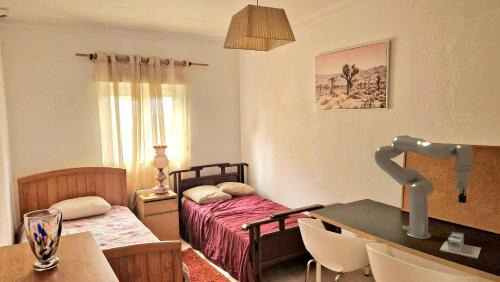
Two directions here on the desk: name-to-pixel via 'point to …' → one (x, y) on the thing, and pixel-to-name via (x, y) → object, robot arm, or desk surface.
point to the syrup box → (456, 241)
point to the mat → (463, 250)
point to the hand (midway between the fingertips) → (462, 202)
